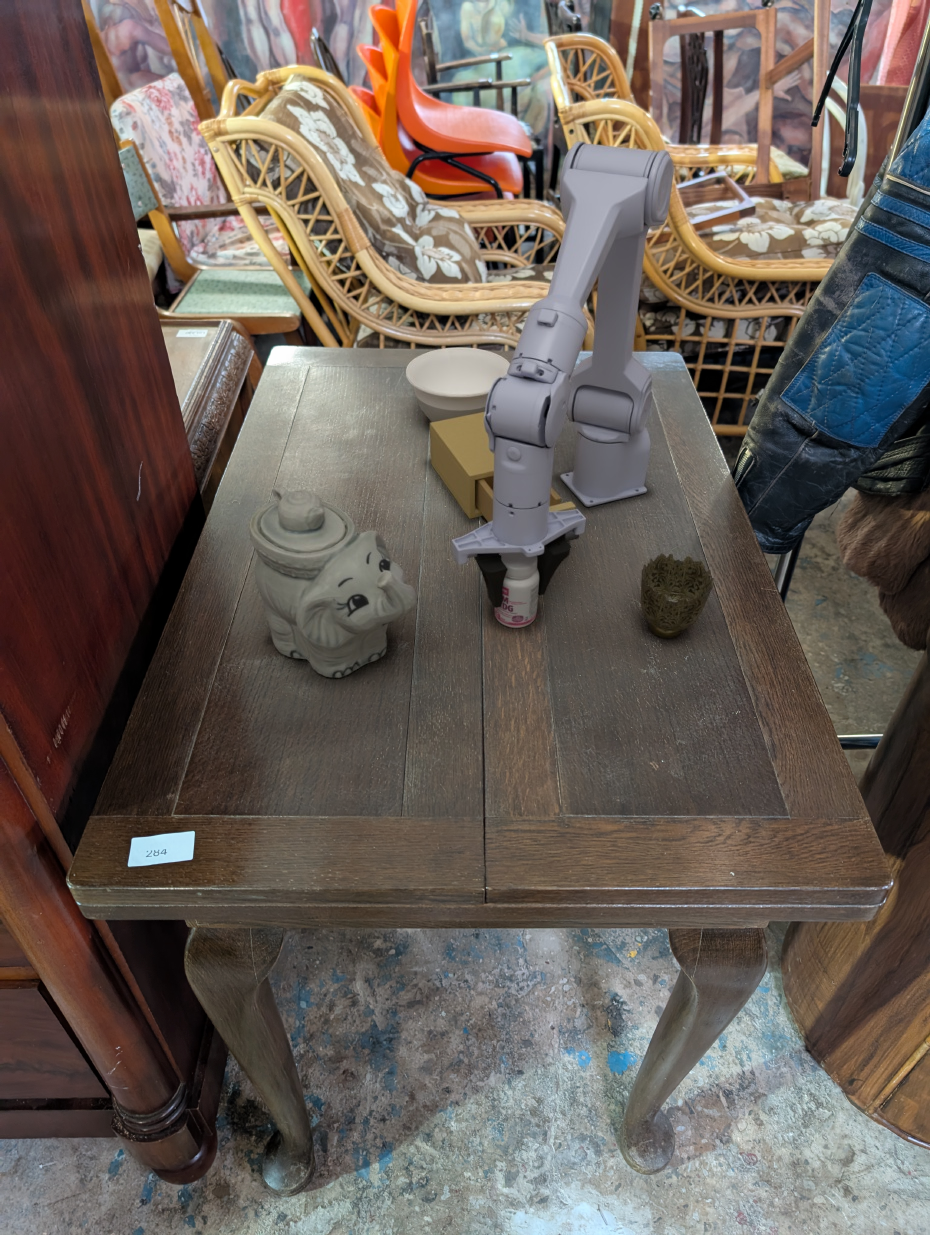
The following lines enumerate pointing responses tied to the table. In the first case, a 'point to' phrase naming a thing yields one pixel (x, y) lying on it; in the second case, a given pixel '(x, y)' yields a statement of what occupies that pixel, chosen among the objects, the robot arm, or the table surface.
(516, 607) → the pill bottle
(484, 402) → the bowl
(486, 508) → the drawer
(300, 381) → the table surface
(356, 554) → the grey elephant cookie jar
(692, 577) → the cup
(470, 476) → the cabinet
